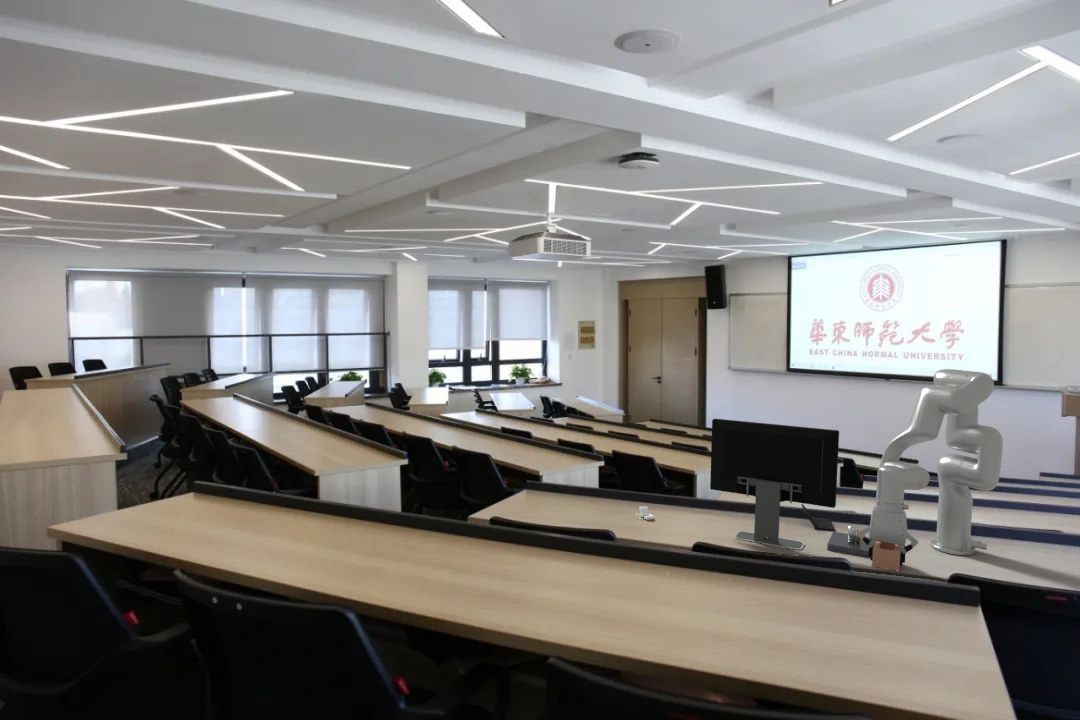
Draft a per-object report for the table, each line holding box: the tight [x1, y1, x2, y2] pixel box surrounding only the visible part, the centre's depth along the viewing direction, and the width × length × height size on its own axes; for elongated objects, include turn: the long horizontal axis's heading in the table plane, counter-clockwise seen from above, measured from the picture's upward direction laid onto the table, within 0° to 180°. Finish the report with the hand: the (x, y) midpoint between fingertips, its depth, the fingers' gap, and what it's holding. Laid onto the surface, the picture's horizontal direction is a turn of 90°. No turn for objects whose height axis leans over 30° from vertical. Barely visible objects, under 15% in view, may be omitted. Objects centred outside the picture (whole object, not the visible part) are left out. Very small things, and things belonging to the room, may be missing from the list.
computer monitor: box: [709, 418, 840, 551], centre depth 225 cm, size 41×8×40 cm, turn 59°
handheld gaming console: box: [800, 503, 836, 532], centre depth 243 cm, size 13×8×11 cm
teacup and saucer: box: [636, 505, 655, 521], centre depth 251 cm, size 9×8×4 cm
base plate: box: [826, 524, 871, 559], centre depth 221 cm, size 13×14×7 cm
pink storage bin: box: [871, 541, 901, 572], centre depth 206 cm, size 7×7×6 cm
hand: (886, 561), depth 206 cm, fingers closed on pink storage bin, 7 cm apart
